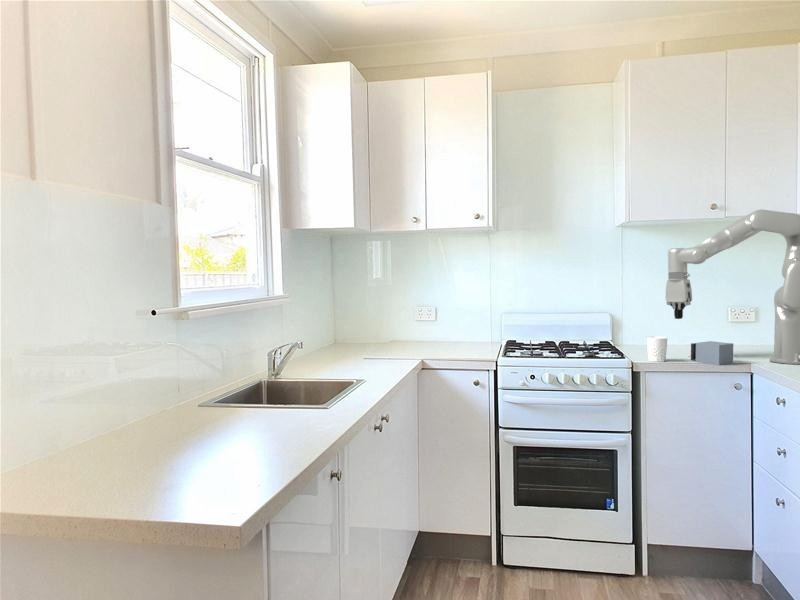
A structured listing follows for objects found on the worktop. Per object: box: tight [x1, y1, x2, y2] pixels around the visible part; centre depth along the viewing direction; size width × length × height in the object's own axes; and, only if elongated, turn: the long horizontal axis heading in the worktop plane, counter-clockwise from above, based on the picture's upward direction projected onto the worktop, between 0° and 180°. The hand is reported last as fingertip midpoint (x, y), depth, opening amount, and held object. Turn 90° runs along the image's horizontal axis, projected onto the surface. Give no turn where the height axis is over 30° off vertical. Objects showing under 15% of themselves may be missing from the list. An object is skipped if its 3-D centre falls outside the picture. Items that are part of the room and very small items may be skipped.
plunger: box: [690, 342, 697, 361], centre depth 246 cm, size 10×11×7 cm
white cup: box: [646, 335, 668, 363], centre depth 248 cm, size 8×8×10 cm
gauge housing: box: [687, 340, 734, 366], centre depth 248 cm, size 21×14×8 cm, turn 31°
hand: (678, 318), depth 256 cm, fingers closed
